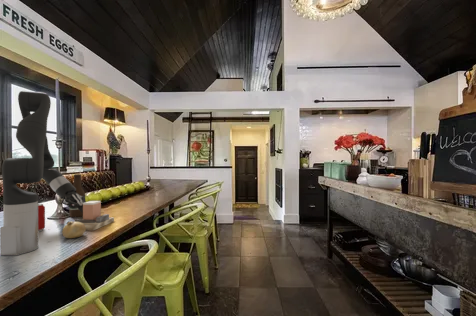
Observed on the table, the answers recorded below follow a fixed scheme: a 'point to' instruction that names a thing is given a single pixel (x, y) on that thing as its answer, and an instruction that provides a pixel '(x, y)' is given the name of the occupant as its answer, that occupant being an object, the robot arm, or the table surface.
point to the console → (96, 222)
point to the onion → (73, 229)
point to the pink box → (91, 210)
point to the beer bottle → (81, 192)
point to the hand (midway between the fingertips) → (86, 212)
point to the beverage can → (41, 217)
